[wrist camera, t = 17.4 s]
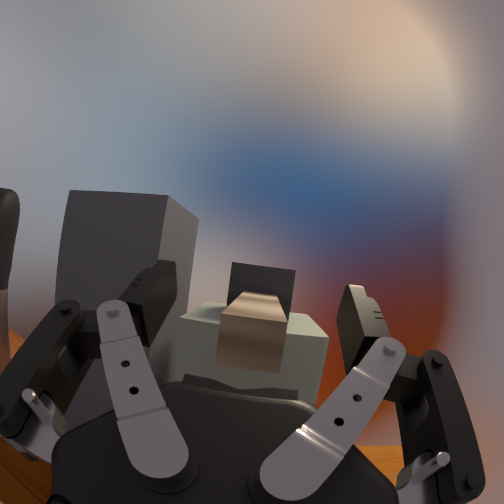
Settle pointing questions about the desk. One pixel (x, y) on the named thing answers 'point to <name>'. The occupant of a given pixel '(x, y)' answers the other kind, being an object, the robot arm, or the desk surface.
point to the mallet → (255, 318)
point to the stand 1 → (122, 273)
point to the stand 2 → (290, 377)
